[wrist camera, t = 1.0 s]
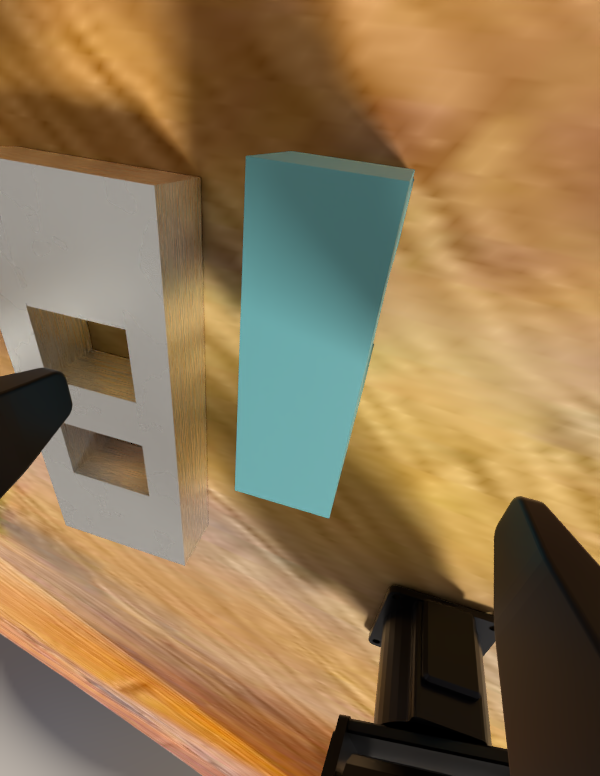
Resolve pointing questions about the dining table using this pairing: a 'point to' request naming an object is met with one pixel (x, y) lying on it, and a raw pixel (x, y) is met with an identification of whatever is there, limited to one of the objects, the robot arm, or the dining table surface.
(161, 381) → the rail
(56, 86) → the dining table surface
